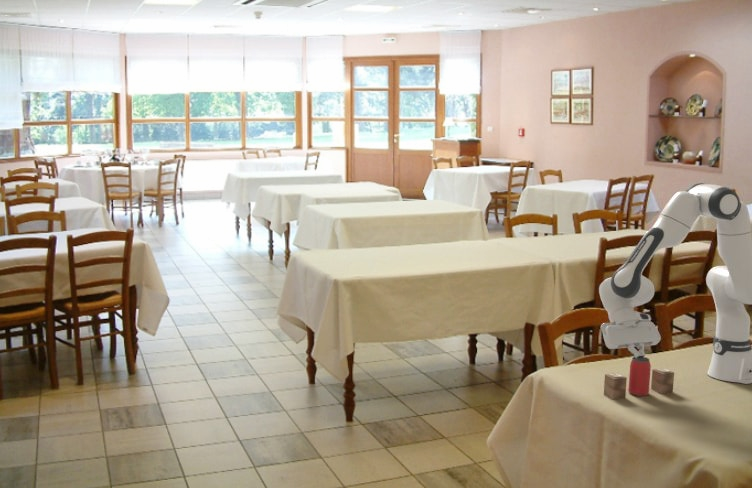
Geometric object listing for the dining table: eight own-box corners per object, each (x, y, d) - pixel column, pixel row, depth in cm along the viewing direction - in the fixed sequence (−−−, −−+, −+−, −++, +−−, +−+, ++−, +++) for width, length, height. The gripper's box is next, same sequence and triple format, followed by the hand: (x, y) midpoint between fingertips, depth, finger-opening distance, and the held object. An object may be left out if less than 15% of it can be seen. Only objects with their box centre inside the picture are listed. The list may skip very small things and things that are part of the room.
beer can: (649, 397, 294) (652, 362, 292) (628, 395, 296) (631, 360, 294) (647, 391, 301) (650, 356, 299) (627, 389, 302) (629, 355, 300)
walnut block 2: (663, 387, 305) (664, 367, 303) (672, 392, 300) (674, 371, 299) (651, 389, 303) (652, 368, 302) (660, 393, 298) (662, 372, 297)
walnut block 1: (616, 393, 298) (617, 372, 297) (625, 398, 293) (626, 376, 292) (603, 394, 296) (605, 373, 295) (612, 399, 292) (613, 378, 291)
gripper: (603, 318, 298) (618, 354, 290) (653, 314, 305) (670, 350, 297) (594, 328, 302) (609, 364, 295) (644, 324, 309) (660, 359, 302)
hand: (640, 357), depth 296 cm, fingers closed, pressing on beer can
